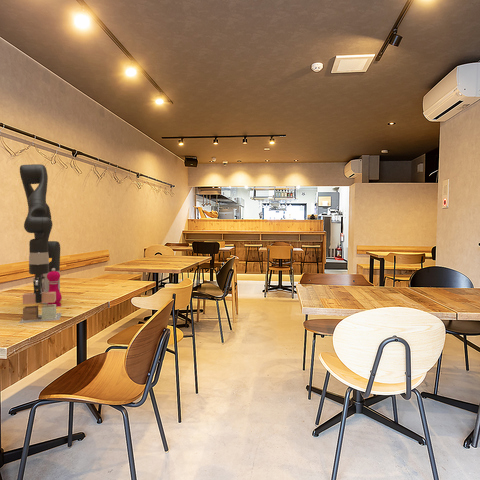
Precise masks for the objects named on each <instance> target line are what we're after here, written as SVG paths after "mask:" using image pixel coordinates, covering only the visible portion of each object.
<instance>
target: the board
mask: <svg viewBox="0 0 480 480" xmlns="http://www.w3.org/2000/svg"><path fill="white" fill-rule="evenodd" d="M62 314H63V313H62V312H59V313H57V312H56V317H55V318H49V319H42V314H38V318H37V320H26V321H23V317H22V318H21V319H20V321H19V322H18V324H25V323H27V324H28V323H37V322H48V321H50V322H51V321H58V320H59V321H60V319H61V317H62Z"/></svg>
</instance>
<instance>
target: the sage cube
mask: <svg viewBox="0 0 480 480" xmlns="http://www.w3.org/2000/svg"><path fill="white" fill-rule="evenodd" d="M56 313H57V307H56V304H52V305H47V304H42V306H41V315H42V319H49V318H55V317H56Z"/></svg>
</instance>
